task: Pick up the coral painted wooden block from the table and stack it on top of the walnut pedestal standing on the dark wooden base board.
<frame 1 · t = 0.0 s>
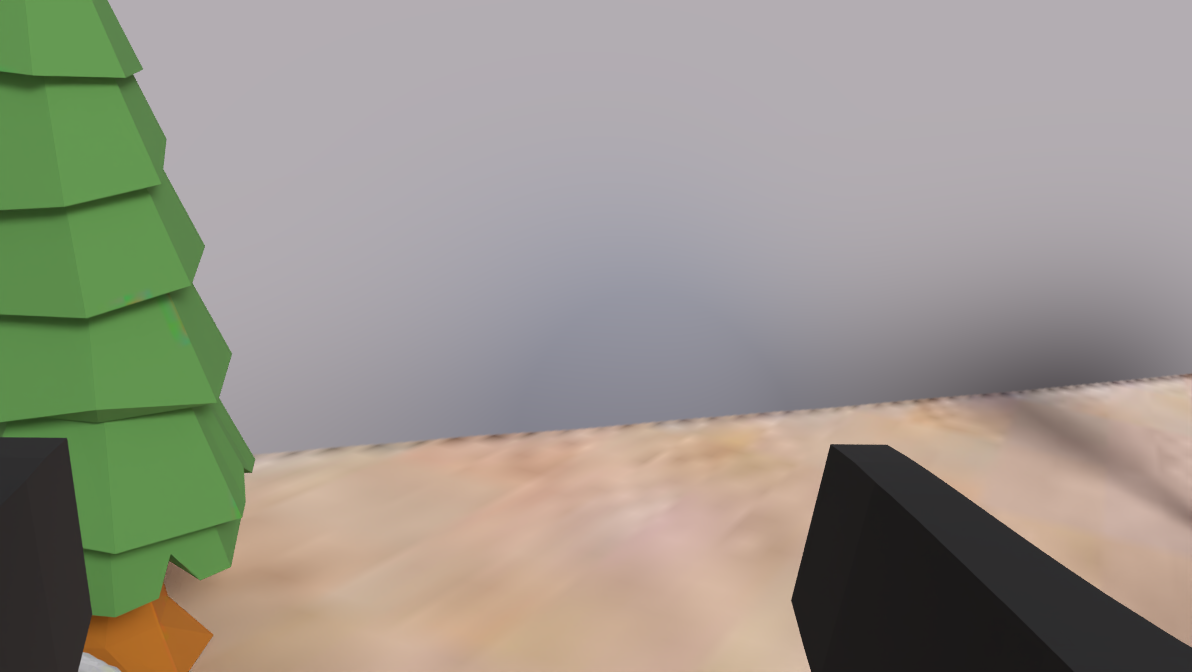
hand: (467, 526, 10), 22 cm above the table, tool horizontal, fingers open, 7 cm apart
decorative tree: (135, 657, 39), on the table
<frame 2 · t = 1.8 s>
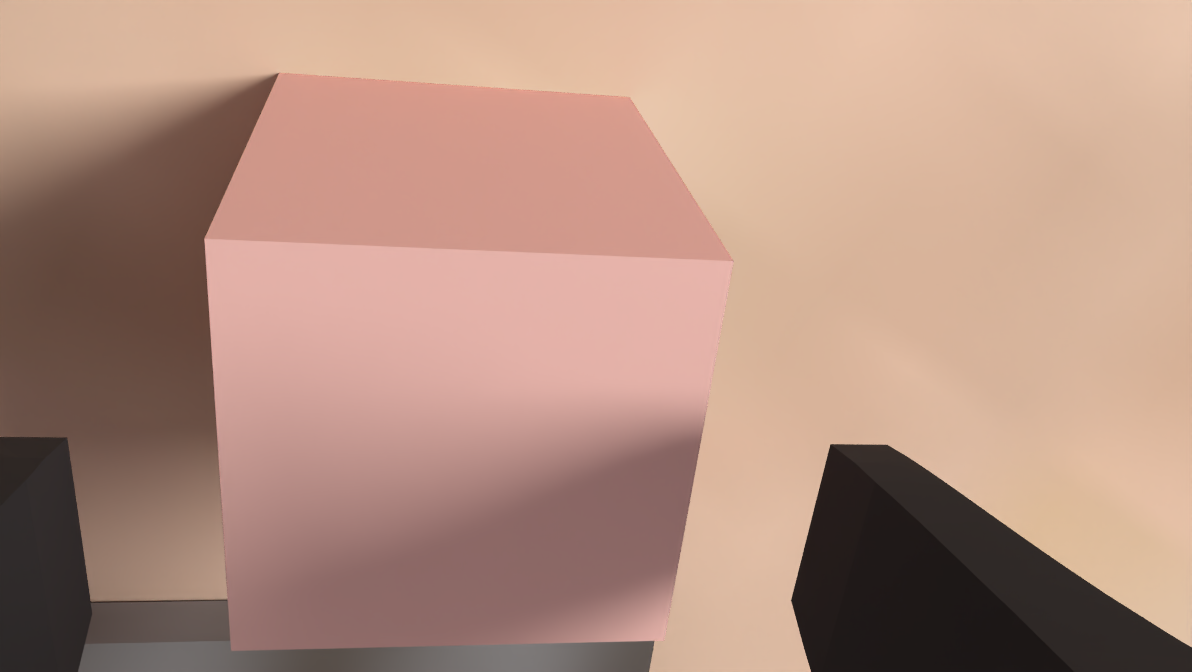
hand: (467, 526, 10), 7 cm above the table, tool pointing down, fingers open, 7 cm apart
coral block: (451, 244, 16), on the table
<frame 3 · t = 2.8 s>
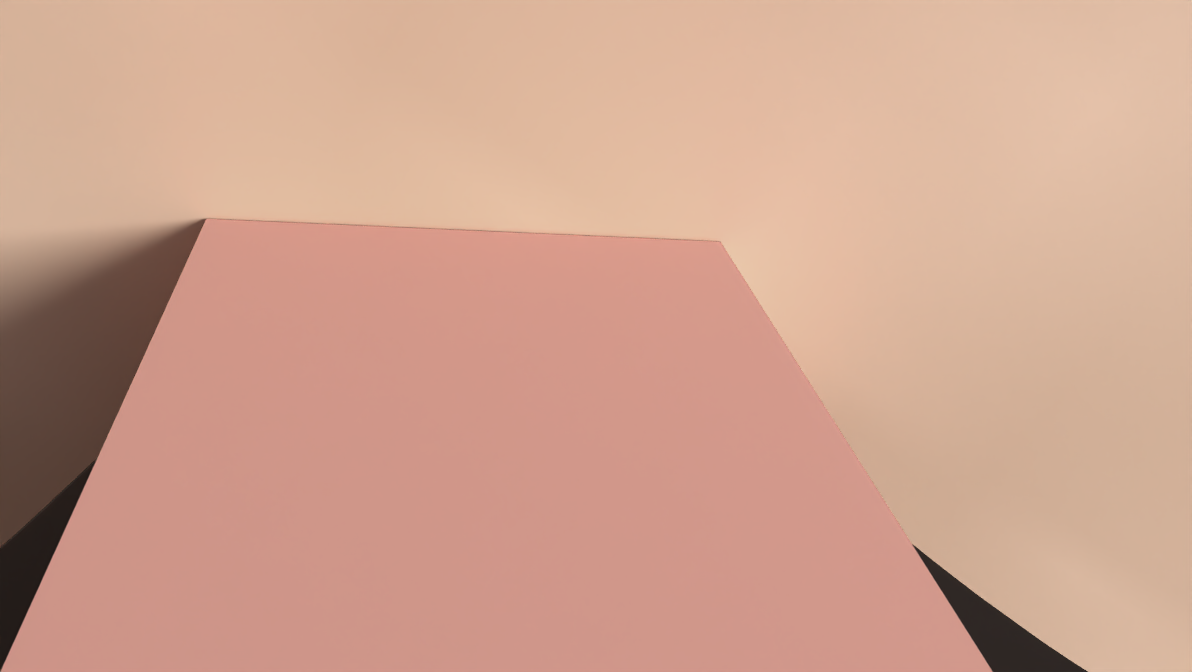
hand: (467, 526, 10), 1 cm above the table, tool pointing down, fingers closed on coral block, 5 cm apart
coral block: (461, 444, 12), on the table, touching gripper
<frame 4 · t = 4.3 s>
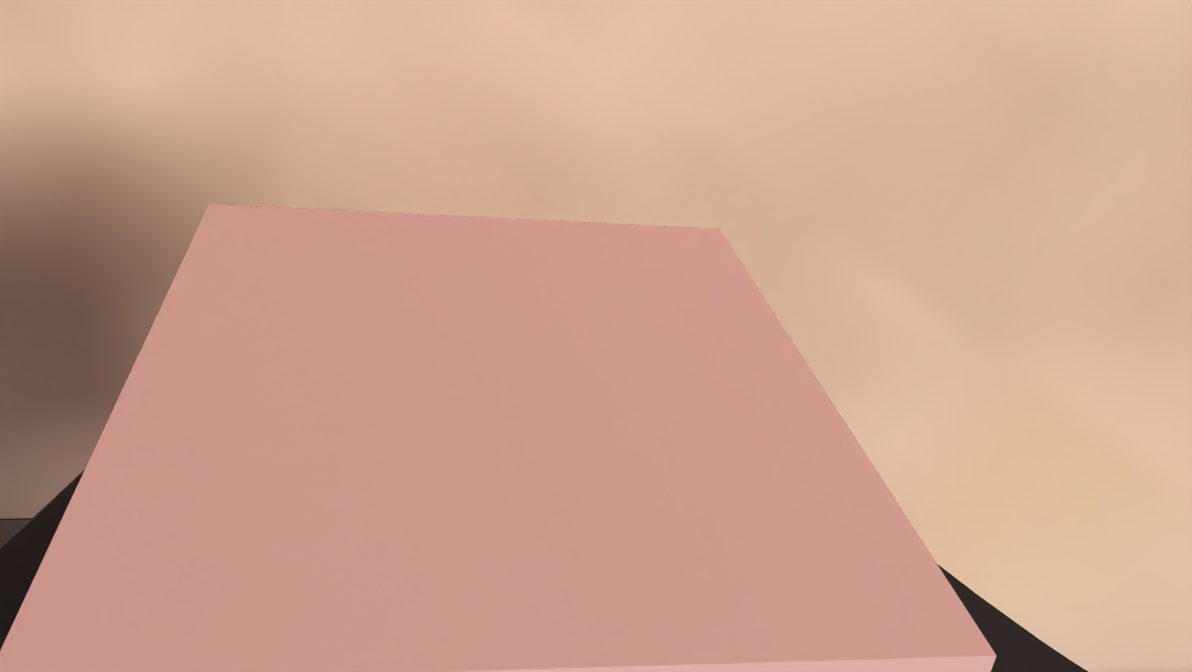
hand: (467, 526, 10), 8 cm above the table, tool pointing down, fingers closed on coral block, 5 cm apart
coral block: (461, 430, 12), point 7 cm above the table, touching gripper
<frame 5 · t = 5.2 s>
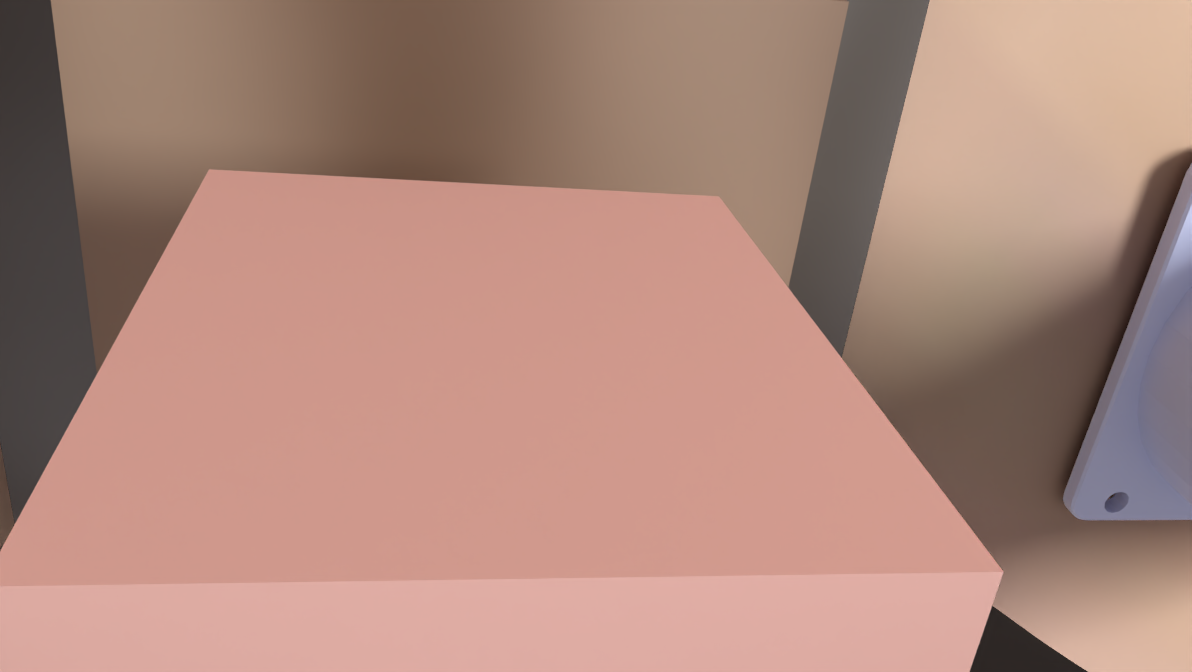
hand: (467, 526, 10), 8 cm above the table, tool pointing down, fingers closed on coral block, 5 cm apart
base: (446, 211, 18), on the table
coral block: (462, 402, 12), point 7 cm above the table, touching gripper
when the fingers open (7 cm above the table, at t = 6.0 s): coral block drops 1 cm, resting on base.
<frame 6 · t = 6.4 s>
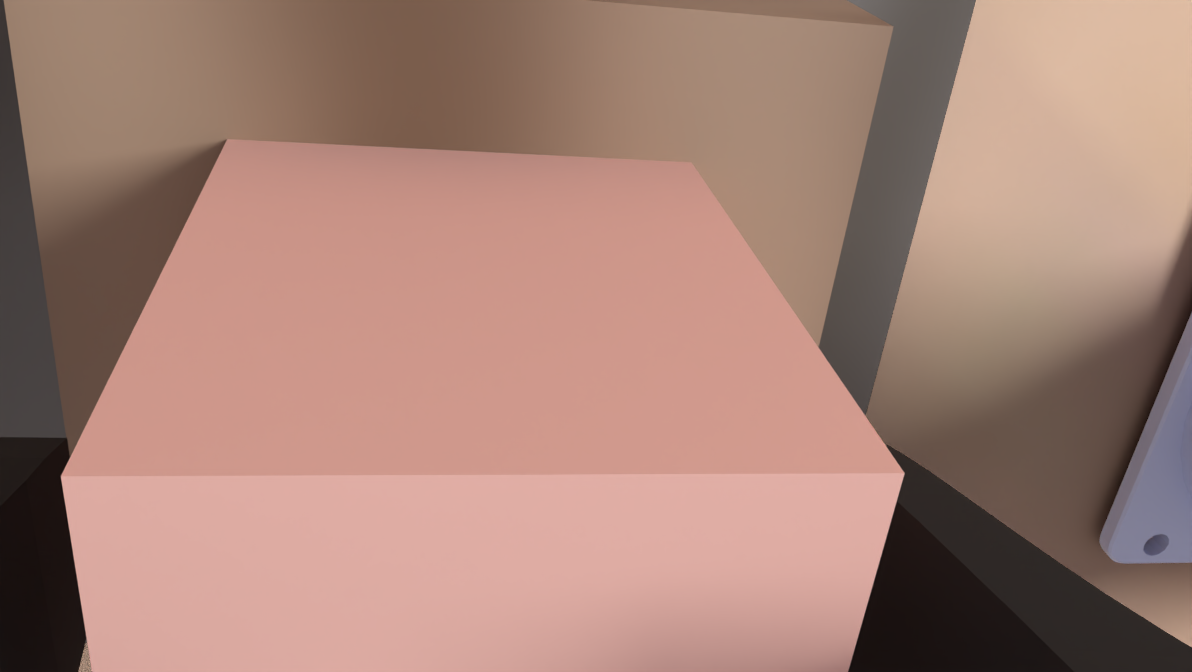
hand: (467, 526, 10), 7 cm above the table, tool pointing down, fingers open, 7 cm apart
base: (448, 244, 16), on the table
coral block: (458, 352, 13), point 4 cm above the table, touching base
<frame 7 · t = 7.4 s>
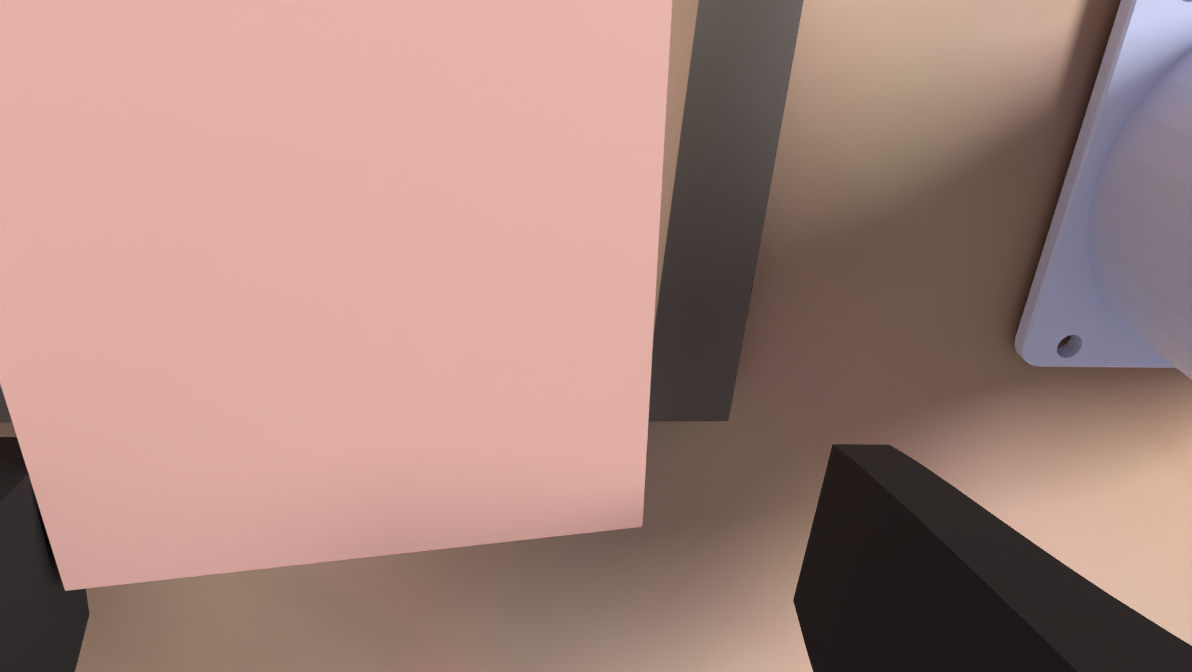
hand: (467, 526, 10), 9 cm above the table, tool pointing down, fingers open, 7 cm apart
base: (354, 14, 17), on the table
coral block: (346, 77, 13), point 4 cm above the table, touching gripper
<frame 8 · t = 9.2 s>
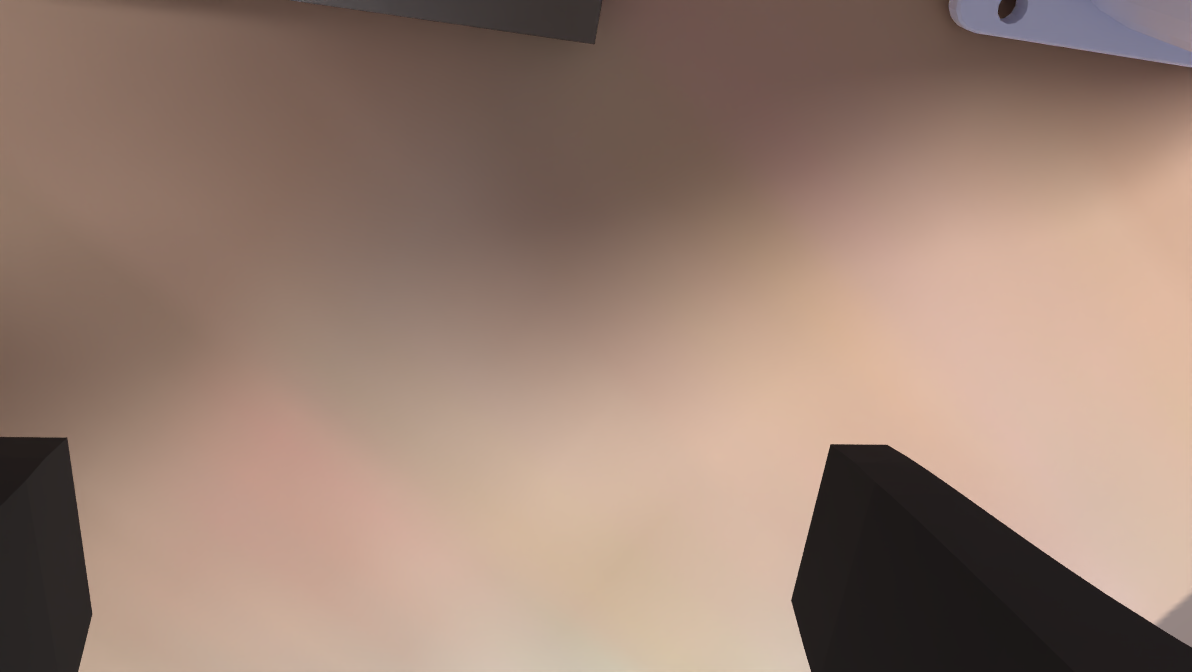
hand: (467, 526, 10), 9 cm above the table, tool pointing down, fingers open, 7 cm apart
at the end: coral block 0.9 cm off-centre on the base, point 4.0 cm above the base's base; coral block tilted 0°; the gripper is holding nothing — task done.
